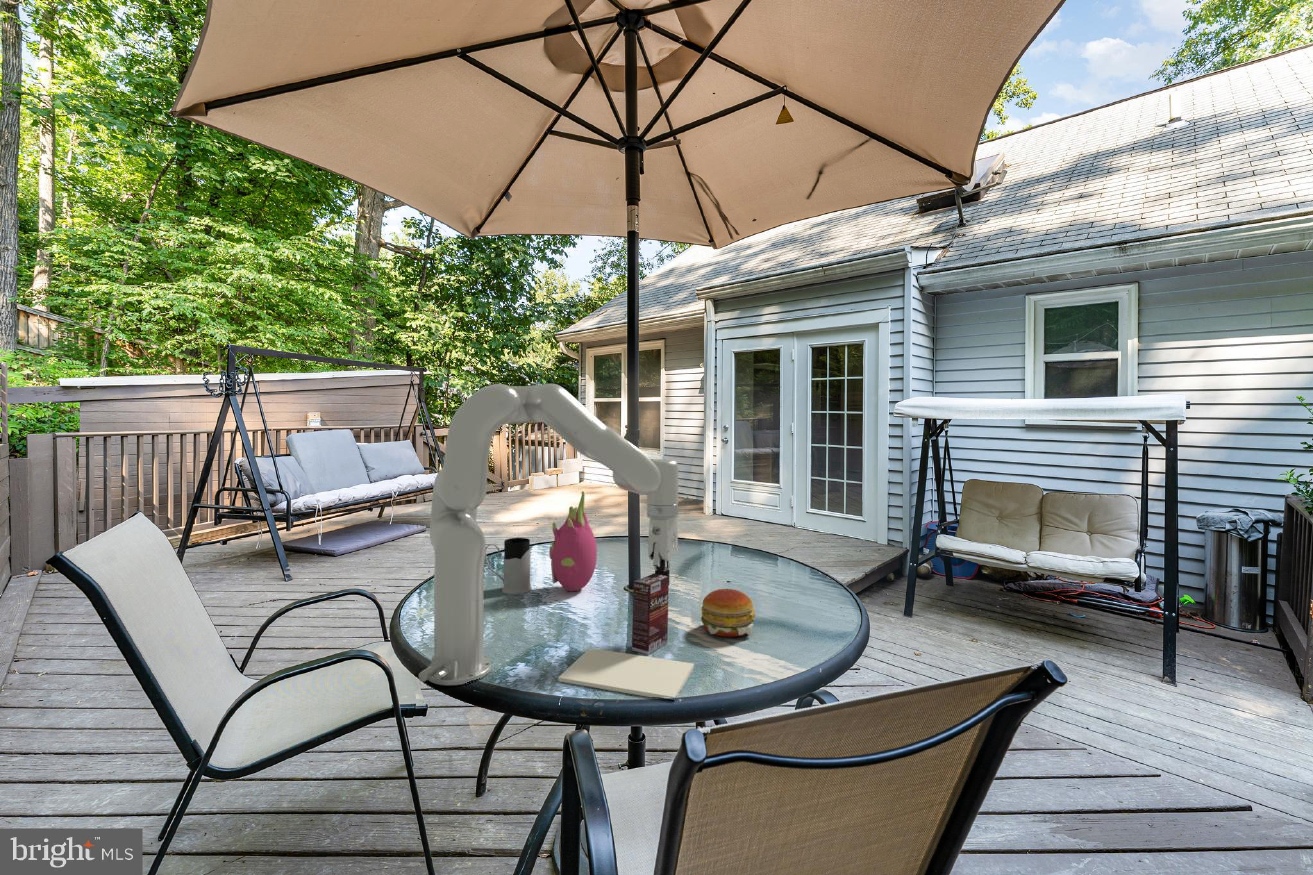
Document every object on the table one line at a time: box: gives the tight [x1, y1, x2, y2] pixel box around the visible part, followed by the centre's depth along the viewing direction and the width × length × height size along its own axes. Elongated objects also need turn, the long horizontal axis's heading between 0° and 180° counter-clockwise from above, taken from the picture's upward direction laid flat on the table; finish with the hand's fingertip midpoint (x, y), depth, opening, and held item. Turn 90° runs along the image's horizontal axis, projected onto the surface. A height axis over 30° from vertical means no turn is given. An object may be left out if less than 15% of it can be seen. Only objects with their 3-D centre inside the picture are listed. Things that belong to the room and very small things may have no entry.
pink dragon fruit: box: [549, 490, 598, 592], centre depth 170 cm, size 18×14×30 cm
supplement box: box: [631, 572, 670, 656], centre depth 129 cm, size 9×5×16 cm, turn 148°
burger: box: [700, 588, 756, 638], centre depth 139 cm, size 13×14×10 cm
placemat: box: [557, 647, 695, 698], centre depth 115 cm, size 15×24×1 cm, turn 72°
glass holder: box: [485, 537, 533, 595], centre depth 170 cm, size 9×14×15 cm, turn 89°
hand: (662, 585), depth 136 cm, fingers closed
